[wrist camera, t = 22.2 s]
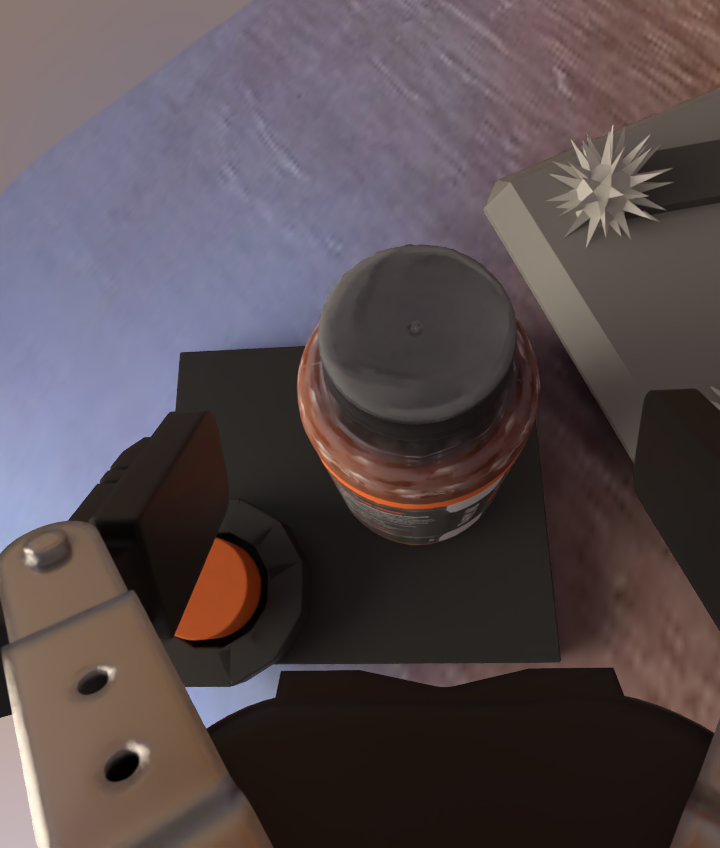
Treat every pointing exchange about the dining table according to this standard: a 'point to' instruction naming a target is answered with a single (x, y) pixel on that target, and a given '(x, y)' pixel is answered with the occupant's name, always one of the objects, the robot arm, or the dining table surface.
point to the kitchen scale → (355, 549)
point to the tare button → (222, 594)
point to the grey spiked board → (627, 255)
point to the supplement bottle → (418, 391)
